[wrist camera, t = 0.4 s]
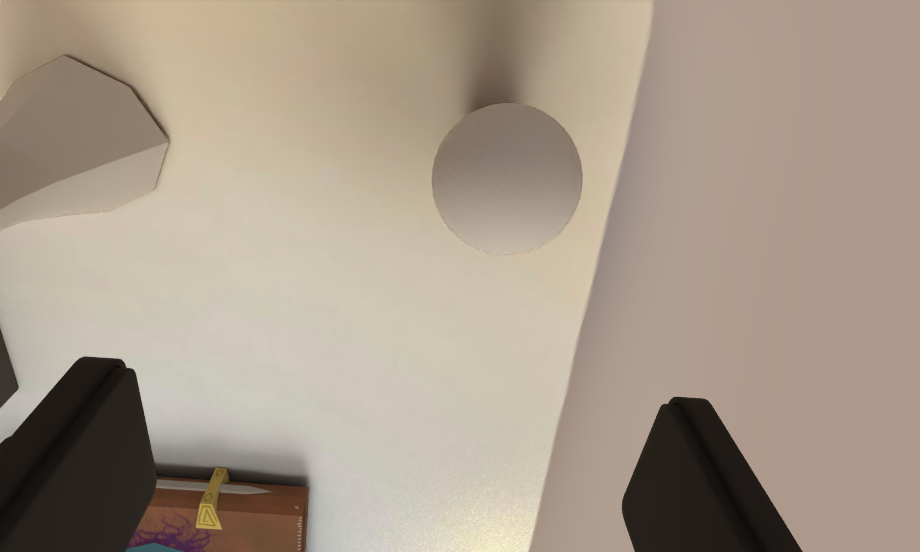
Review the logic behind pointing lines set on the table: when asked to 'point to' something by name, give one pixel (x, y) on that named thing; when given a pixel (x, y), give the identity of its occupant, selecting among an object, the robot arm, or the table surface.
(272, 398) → the table surface
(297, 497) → the book
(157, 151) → the flask
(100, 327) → the table surface
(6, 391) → the scale
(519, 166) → the light bulb
